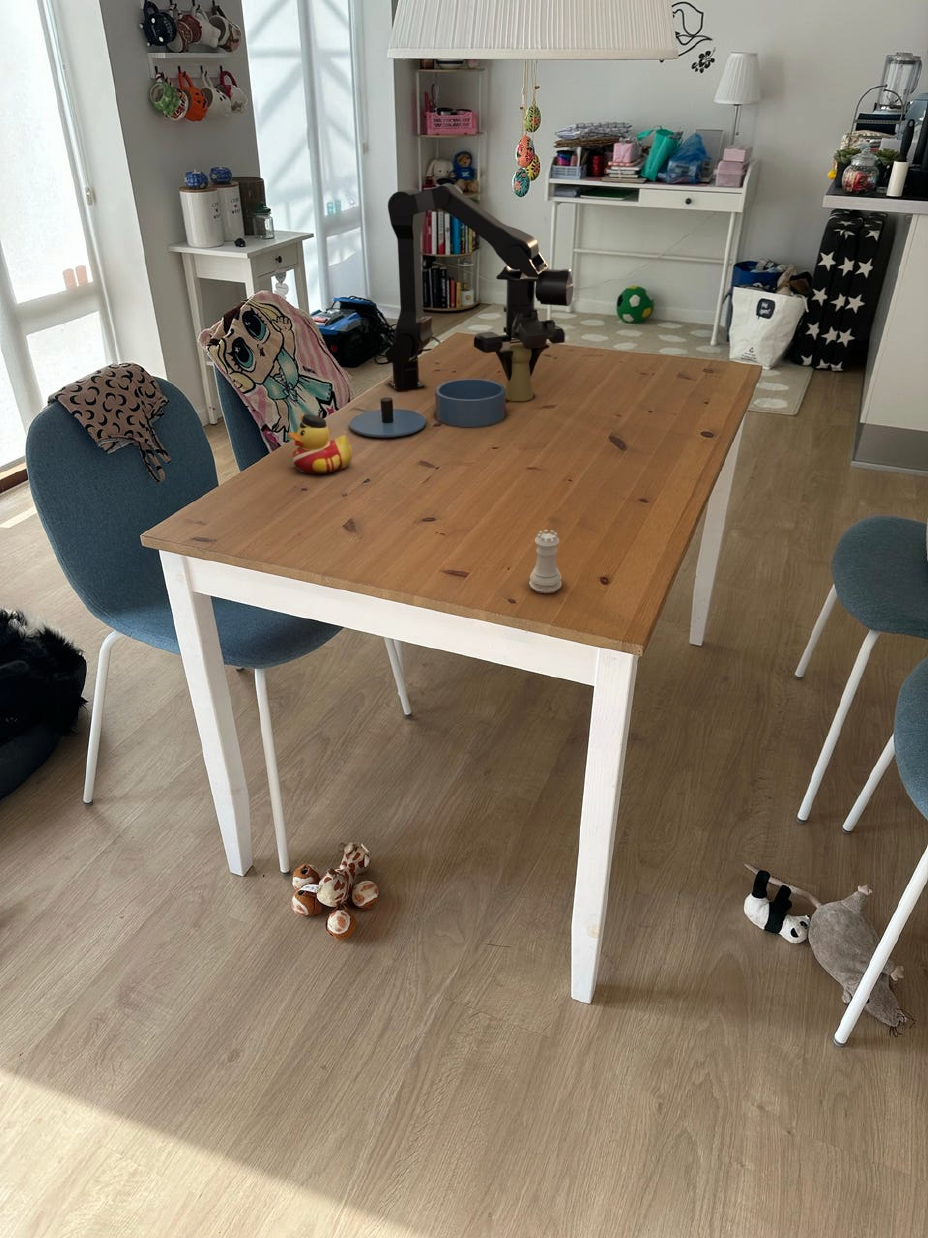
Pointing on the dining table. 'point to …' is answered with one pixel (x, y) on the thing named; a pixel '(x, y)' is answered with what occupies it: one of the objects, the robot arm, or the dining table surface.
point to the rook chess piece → (546, 564)
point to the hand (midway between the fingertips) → (519, 379)
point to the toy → (318, 447)
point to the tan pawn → (519, 375)
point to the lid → (387, 421)
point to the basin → (470, 402)
